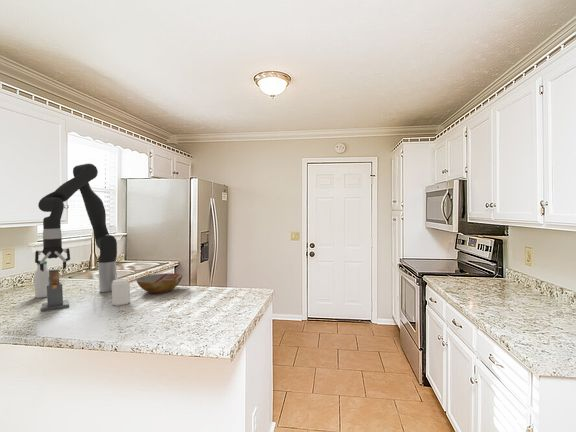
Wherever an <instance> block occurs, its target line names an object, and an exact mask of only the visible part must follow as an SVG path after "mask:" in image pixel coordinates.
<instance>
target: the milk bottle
mask: <svg viewBox="0 0 576 432" xmlns="http://www.w3.org/2000/svg"><path fill="white" fill-rule="evenodd" d="M43 264H44V271H43V272H42V270H40V264H39V263H36V266H37V268H36V271H35V273H34V277H33V281H34V282H33V283H34V284H33V285H34V297H35V299H36V298H37V299H40V298H47V284H49V270H50V269H49V268H48V261H47V260H45V261H44V262H43Z"/></svg>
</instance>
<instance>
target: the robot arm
mask: <svg viewBox="0 0 576 432" xmlns="http://www.w3.org/2000/svg"><path fill="white" fill-rule="evenodd" d="M98 173H99V171H98V168H97V166H95V164H93V163H83V164H79V165H78V164H77V165H75V166H74V167H73V170H72V174H73V178H72V177H71V179H69V180H68V181H66V182H64V183H62V184H61V185H60V186H59V187H57V188H56V189H55V190H54V191H52V192H50V193H48V194H46V195H44V196H42V198H41V199H40V200H39V202H38V204H37V205H38V209H39V210H40V211H41V212H44V213H46V212H47V213H50V215H49V216H45V217H43V220H42V222H43V224H42V227H43V229H42V230H43V231H42V243H43V244H42V248H43V249H42V250H35V255H34V263H36V264H37V263H39V264H40V270H42V272H43V271H44V264H43V262H44V261H47V259H57V258H59V259H60V260H61V261H62V269H63V270H65V269H66V268H67V262H68V261H70V260H71V251H70V248H67V247H66V248H63V243H62V239H63V238H62V237H63V235H62V229H61V219H62V217H63V213H64V209H65V202H67V201H68V200H69V199H70V198H71V197H72V196H74V194H75V193H77V192H78V190H79V192H80V195H81V197H82V200H83V203H84V207H85V211H86V213H87V216H88V219H89V222H90V224H91V226H92V230H93V234H94V235H93V236H94V239H95V240H94V241H95V245H96V247H97V248H99V257H98V260H97V261H98V262H97V263H98V284H99V292H100V293H109V292H112V282H113V280H117V279H119V278H118V272H117V257H118V242H117V239H116V237H115V236H113V235H111V234H110V233H109V231H108V228H107V223H106V222H107V220H106V219H107V218H106V217H107V216H106V215H107V214H106V208H105V205H104V202H103V200H102V198H101V197H100V196H99V195H98V194H96V192H95V191H94V190H93V189H92V188H91V185H90V182H91V181H92V180H94V179H95V178H96V177H97V176H98ZM63 252H64V253H65V254H66V258H65V257H64V256H63V255H62V254H63ZM41 254H43V255H44V257H43V258H42V259H41V260H39V258H40V257H39V256H40V255H41Z"/></svg>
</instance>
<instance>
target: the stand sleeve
mask: <svg viewBox="0 0 576 432" xmlns="http://www.w3.org/2000/svg"><path fill="white" fill-rule="evenodd" d="M63 291H64V290H63V281H59V284H57V285H50V284H47V297H46V299H47V300H46V301H47V302H46V303H45V302H43V303H41V310H40V311H41V312H49V311H55V310H60V309H61V310H62V309H66V308H70V302H69V299H65V300H64V296H63V295H64V294H63V293H64V292H63Z"/></svg>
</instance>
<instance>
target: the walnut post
mask: <svg viewBox="0 0 576 432" xmlns="http://www.w3.org/2000/svg"><path fill="white" fill-rule="evenodd" d="M48 270H49V284H50V285H57V284H59V282H60V269H59V268H52V269H48Z"/></svg>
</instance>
